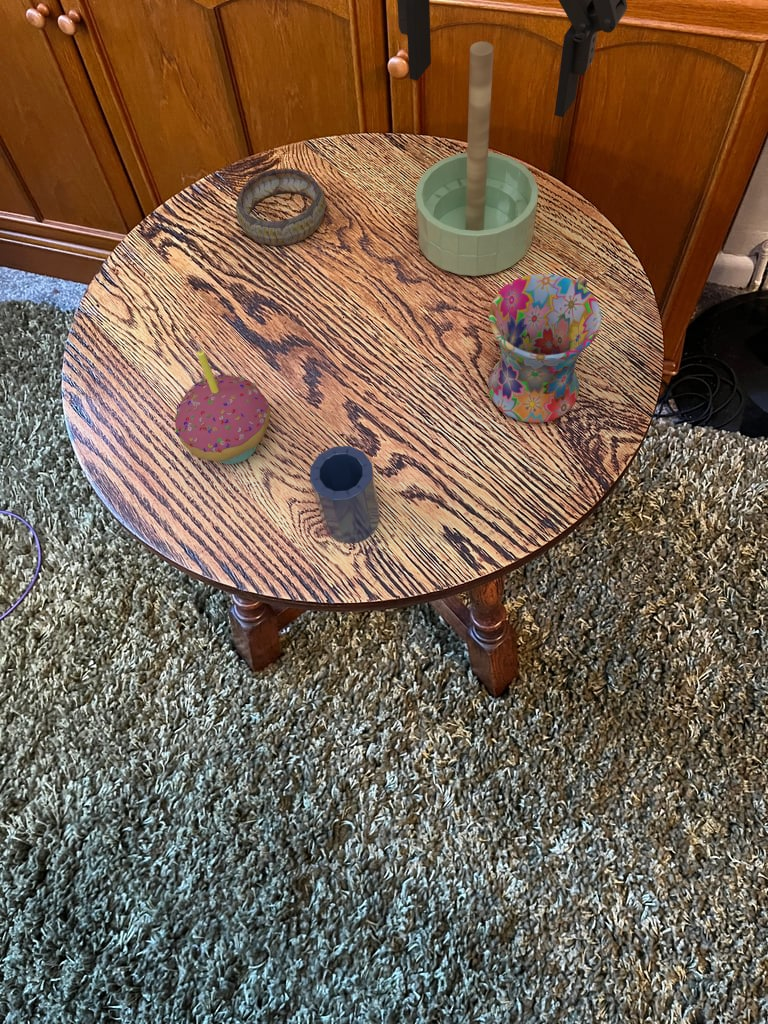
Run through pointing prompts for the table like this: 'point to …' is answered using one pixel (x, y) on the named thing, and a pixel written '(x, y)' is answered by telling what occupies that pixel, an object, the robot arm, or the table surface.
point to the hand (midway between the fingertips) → (490, 89)
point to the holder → (345, 493)
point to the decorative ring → (273, 185)
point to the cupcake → (222, 417)
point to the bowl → (503, 223)
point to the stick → (478, 133)
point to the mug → (540, 344)
